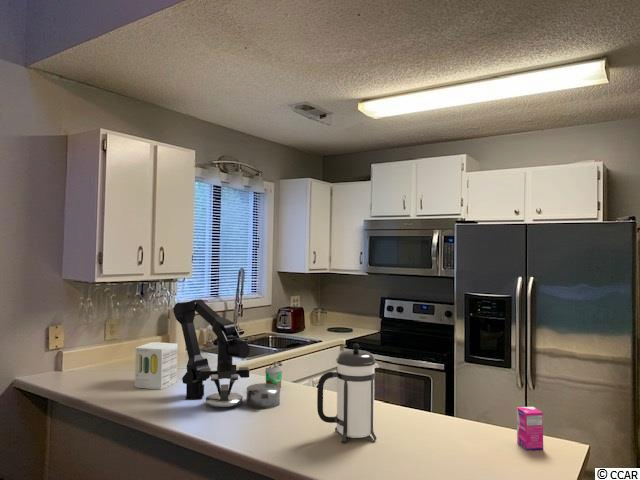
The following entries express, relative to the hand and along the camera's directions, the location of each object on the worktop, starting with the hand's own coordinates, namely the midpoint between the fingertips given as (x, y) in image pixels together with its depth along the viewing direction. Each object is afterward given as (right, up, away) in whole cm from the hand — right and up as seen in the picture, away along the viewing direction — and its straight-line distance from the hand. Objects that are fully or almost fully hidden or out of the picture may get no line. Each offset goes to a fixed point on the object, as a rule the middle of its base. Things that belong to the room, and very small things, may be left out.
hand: (224, 395), depth 183 cm
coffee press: (+47, -4, -30) cm, 56 cm away
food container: (+18, -5, +24) cm, 30 cm away
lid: (0, -2, 0) cm, 2 cm away
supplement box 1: (-36, -4, +27) cm, 45 cm away
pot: (+15, -4, +3) cm, 15 cm away
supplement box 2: (+102, -4, -36) cm, 108 cm away
